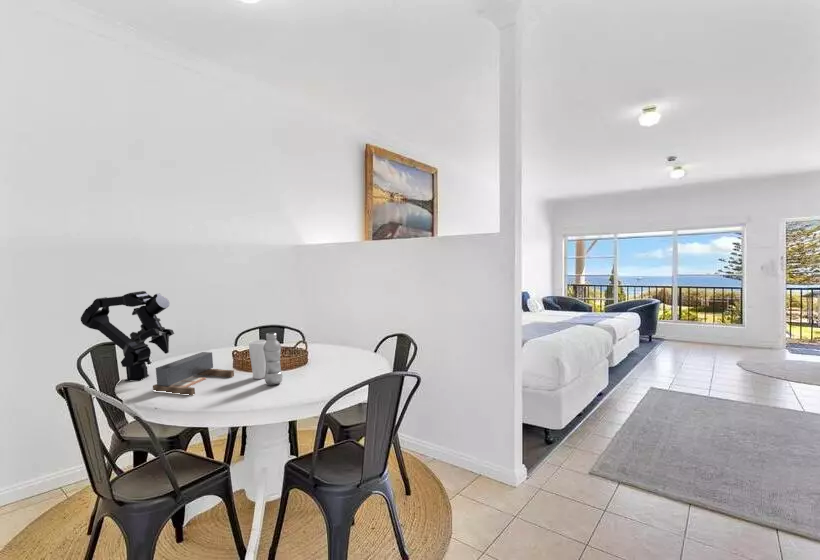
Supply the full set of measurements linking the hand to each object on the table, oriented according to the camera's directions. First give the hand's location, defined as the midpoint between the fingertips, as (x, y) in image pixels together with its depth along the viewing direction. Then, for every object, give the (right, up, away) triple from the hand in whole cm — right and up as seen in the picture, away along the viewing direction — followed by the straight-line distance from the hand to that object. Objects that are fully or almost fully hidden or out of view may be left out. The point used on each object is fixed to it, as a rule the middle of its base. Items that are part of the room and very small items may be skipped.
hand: (167, 353), depth 169 cm
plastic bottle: (+46, -11, -6) cm, 47 cm away
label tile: (+10, -11, -2) cm, 15 cm away
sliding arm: (+10, -8, -3) cm, 13 cm away
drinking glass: (+37, -11, +2) cm, 38 cm away
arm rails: (+13, -11, -4) cm, 18 cm away
